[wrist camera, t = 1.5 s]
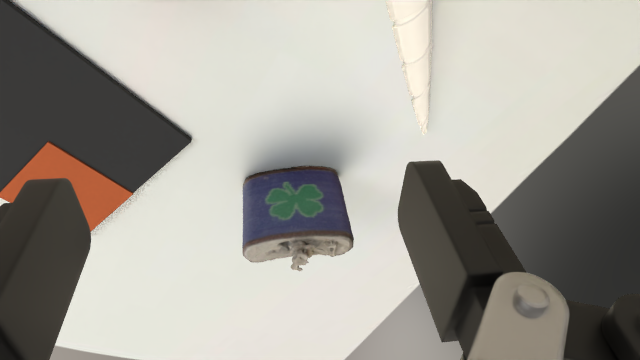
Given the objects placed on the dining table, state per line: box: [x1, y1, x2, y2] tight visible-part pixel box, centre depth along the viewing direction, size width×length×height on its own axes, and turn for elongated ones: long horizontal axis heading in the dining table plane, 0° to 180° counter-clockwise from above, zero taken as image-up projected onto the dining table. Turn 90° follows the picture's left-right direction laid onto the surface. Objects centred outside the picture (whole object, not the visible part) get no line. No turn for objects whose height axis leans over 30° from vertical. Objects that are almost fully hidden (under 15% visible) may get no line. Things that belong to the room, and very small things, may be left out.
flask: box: [243, 166, 354, 271], centre depth 38 cm, size 9×3×11 cm, turn 90°
